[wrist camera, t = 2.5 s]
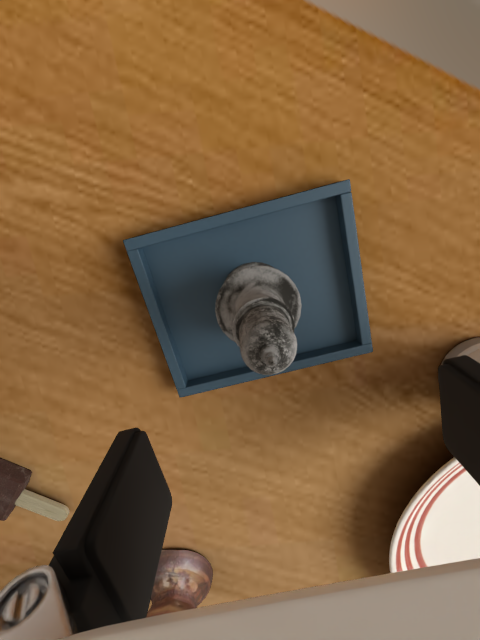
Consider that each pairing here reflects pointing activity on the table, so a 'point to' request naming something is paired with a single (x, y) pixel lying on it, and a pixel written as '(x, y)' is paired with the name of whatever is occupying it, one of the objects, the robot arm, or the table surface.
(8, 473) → the ice cream bar
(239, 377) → the blue tray
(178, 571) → the mortar and pestle
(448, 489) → the dinner plate
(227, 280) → the stone chess piece
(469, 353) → the travel mug
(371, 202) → the table surface
